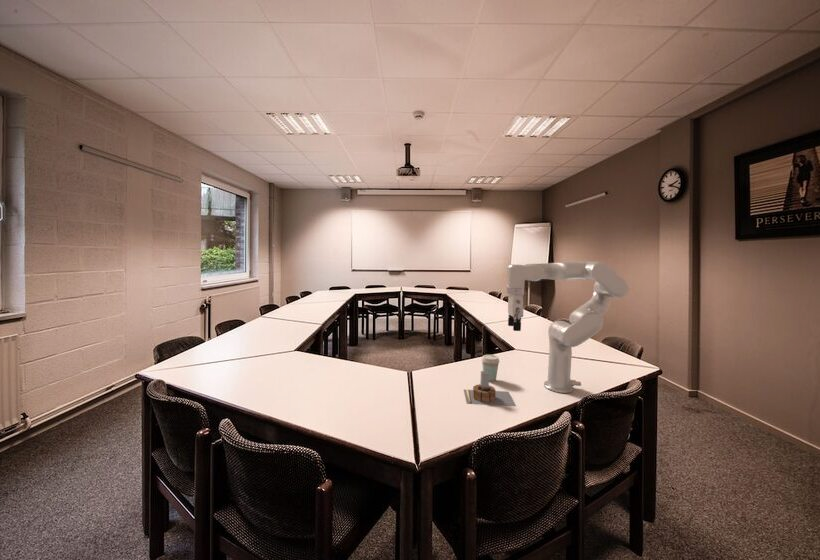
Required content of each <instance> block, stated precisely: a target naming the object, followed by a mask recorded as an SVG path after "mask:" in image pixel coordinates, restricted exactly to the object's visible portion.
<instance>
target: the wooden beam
mask: <svg viewBox="0 0 820 560" xmlns="http://www.w3.org/2000/svg"><path fill="white" fill-rule="evenodd" d="M479 384H480V390H481V391H488V389H489V386H490V385H489V384H490V383H489V373H488V371H483V370H481V371H480V383H479Z"/></svg>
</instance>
